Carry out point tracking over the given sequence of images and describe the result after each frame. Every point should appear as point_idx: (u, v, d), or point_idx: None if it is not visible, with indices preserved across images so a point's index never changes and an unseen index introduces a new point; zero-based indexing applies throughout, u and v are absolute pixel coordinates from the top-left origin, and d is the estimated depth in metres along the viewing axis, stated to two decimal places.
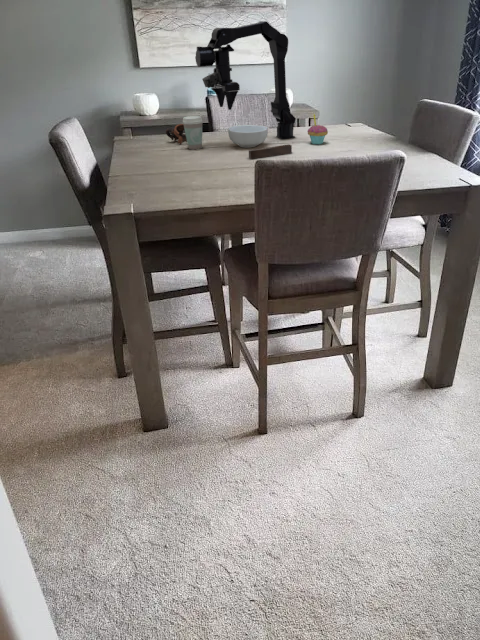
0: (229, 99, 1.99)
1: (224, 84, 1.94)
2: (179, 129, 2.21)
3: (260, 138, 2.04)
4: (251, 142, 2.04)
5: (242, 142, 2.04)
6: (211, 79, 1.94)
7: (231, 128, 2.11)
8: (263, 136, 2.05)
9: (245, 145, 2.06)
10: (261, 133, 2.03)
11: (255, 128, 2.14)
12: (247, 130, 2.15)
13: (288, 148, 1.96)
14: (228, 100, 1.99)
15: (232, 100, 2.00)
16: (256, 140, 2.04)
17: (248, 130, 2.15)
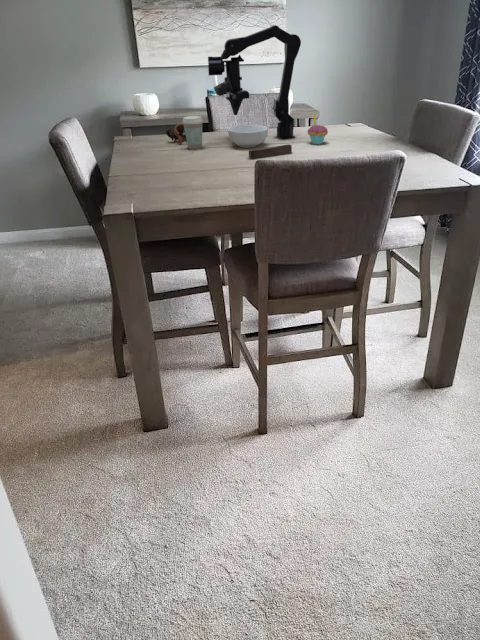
0: (235, 105, 2.12)
1: (235, 92, 2.04)
2: (179, 129, 2.21)
3: (260, 138, 2.04)
4: (251, 142, 2.04)
5: (242, 142, 2.04)
6: (222, 88, 2.04)
7: (231, 128, 2.11)
8: (263, 136, 2.05)
9: (245, 145, 2.06)
10: (261, 133, 2.03)
11: (255, 128, 2.14)
12: (247, 130, 2.15)
13: (288, 148, 1.96)
14: (234, 106, 2.12)
15: (238, 107, 2.13)
16: (256, 140, 2.04)
17: (248, 130, 2.15)
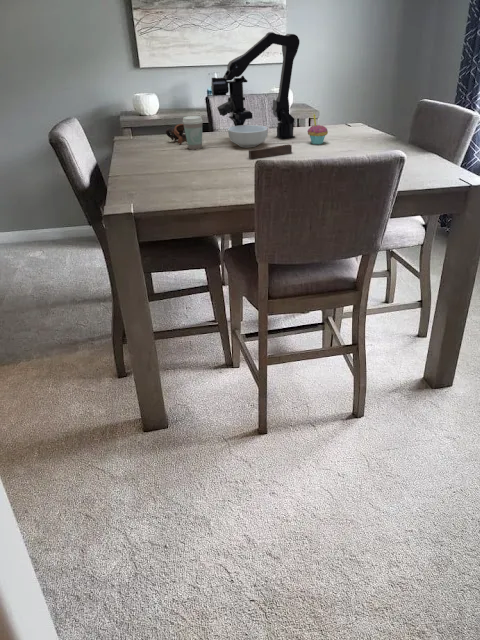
0: (238, 124, 2.15)
1: (238, 113, 2.06)
2: (179, 129, 2.21)
3: (260, 138, 2.04)
4: (251, 142, 2.04)
5: (242, 142, 2.04)
6: (226, 108, 2.06)
7: (231, 128, 2.11)
8: (263, 136, 2.05)
9: (245, 145, 2.06)
10: (261, 133, 2.03)
11: (255, 128, 2.14)
12: (247, 130, 2.15)
13: (288, 148, 1.96)
14: None
15: None
16: (256, 140, 2.04)
17: (248, 130, 2.15)
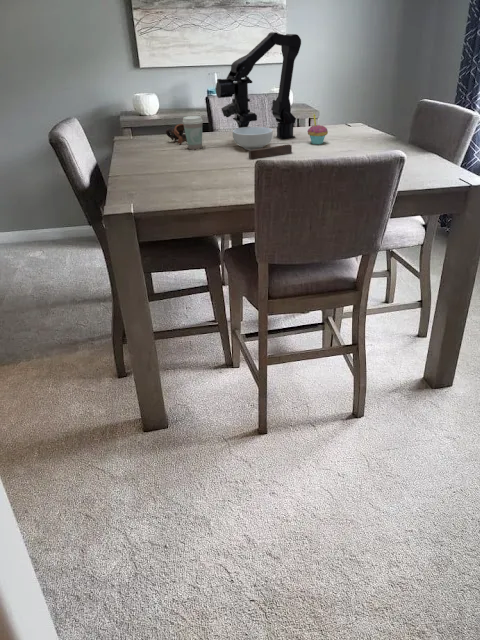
0: (243, 126, 2.11)
1: (242, 115, 2.02)
2: (179, 129, 2.21)
3: (265, 140, 2.00)
4: (256, 144, 2.00)
5: (247, 144, 2.00)
6: (230, 110, 2.02)
7: (235, 130, 2.07)
8: (268, 138, 2.01)
9: (250, 147, 2.03)
10: (266, 135, 1.99)
11: (259, 130, 2.11)
12: (251, 132, 2.11)
13: (288, 148, 1.96)
14: None
15: None
16: (261, 142, 2.00)
17: (252, 132, 2.11)
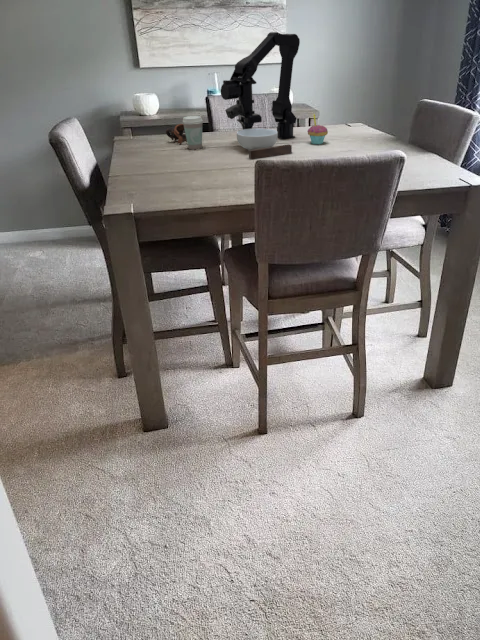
0: (247, 128, 2.08)
1: (247, 116, 1.99)
2: (179, 129, 2.21)
3: (270, 142, 1.97)
4: (261, 146, 1.97)
5: (251, 146, 1.97)
6: (234, 111, 1.99)
7: (239, 132, 2.03)
8: (273, 140, 1.98)
9: None
10: (271, 137, 1.96)
11: (263, 132, 2.07)
12: (256, 134, 2.08)
13: (288, 148, 1.96)
14: None
15: None
16: (266, 144, 1.97)
17: (257, 134, 2.08)
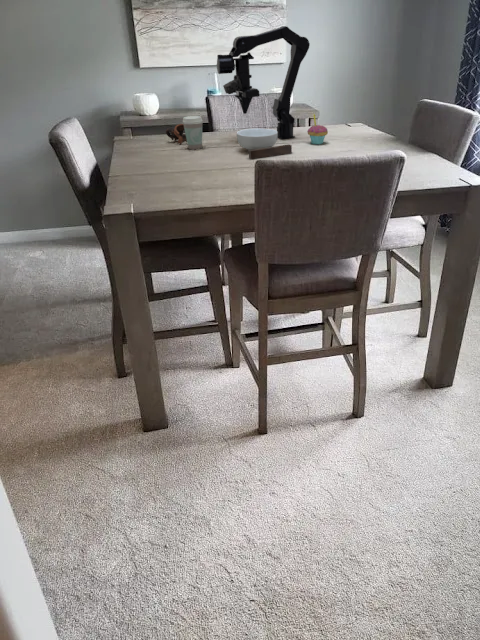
0: (245, 103, 2.10)
1: (245, 91, 2.01)
2: (179, 129, 2.21)
3: (270, 142, 1.97)
4: (261, 146, 1.97)
5: (251, 146, 1.97)
6: (232, 86, 2.01)
7: (239, 132, 2.03)
8: (273, 140, 1.98)
9: None
10: (271, 137, 1.96)
11: (263, 132, 2.07)
12: (256, 134, 2.08)
13: (288, 148, 1.96)
14: (244, 104, 2.10)
15: (248, 105, 2.11)
16: (266, 144, 1.97)
17: (257, 134, 2.08)
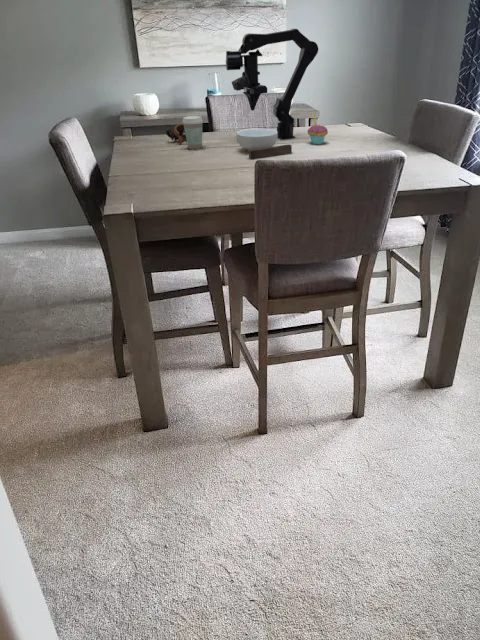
0: (253, 100, 2.11)
1: (253, 87, 2.03)
2: (179, 129, 2.21)
3: (270, 142, 1.97)
4: (261, 146, 1.97)
5: (251, 146, 1.97)
6: (240, 82, 2.03)
7: (239, 132, 2.03)
8: (273, 140, 1.98)
9: None
10: (271, 137, 1.96)
11: (263, 132, 2.07)
12: (256, 134, 2.08)
13: (288, 148, 1.96)
14: (251, 101, 2.11)
15: (255, 102, 2.12)
16: (266, 144, 1.97)
17: (257, 134, 2.08)
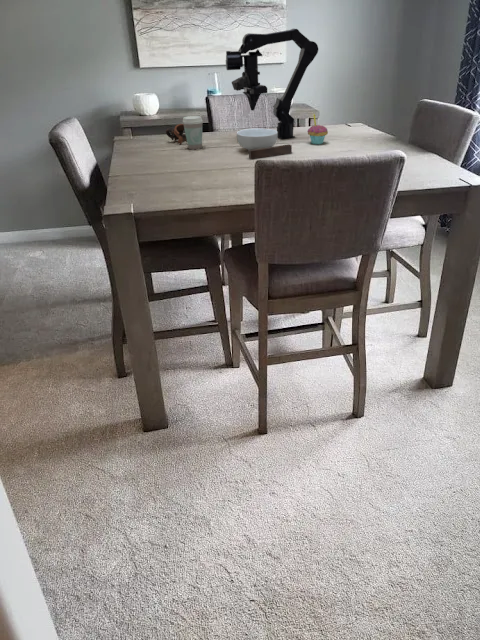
0: (253, 100, 2.11)
1: (253, 87, 2.03)
2: (179, 129, 2.21)
3: (270, 142, 1.97)
4: (261, 146, 1.97)
5: (251, 146, 1.97)
6: (240, 82, 2.03)
7: (239, 132, 2.03)
8: (273, 140, 1.98)
9: None
10: (271, 137, 1.96)
11: (263, 132, 2.07)
12: (256, 134, 2.08)
13: (288, 148, 1.96)
14: (251, 101, 2.11)
15: (255, 102, 2.12)
16: (266, 144, 1.97)
17: (257, 134, 2.08)
